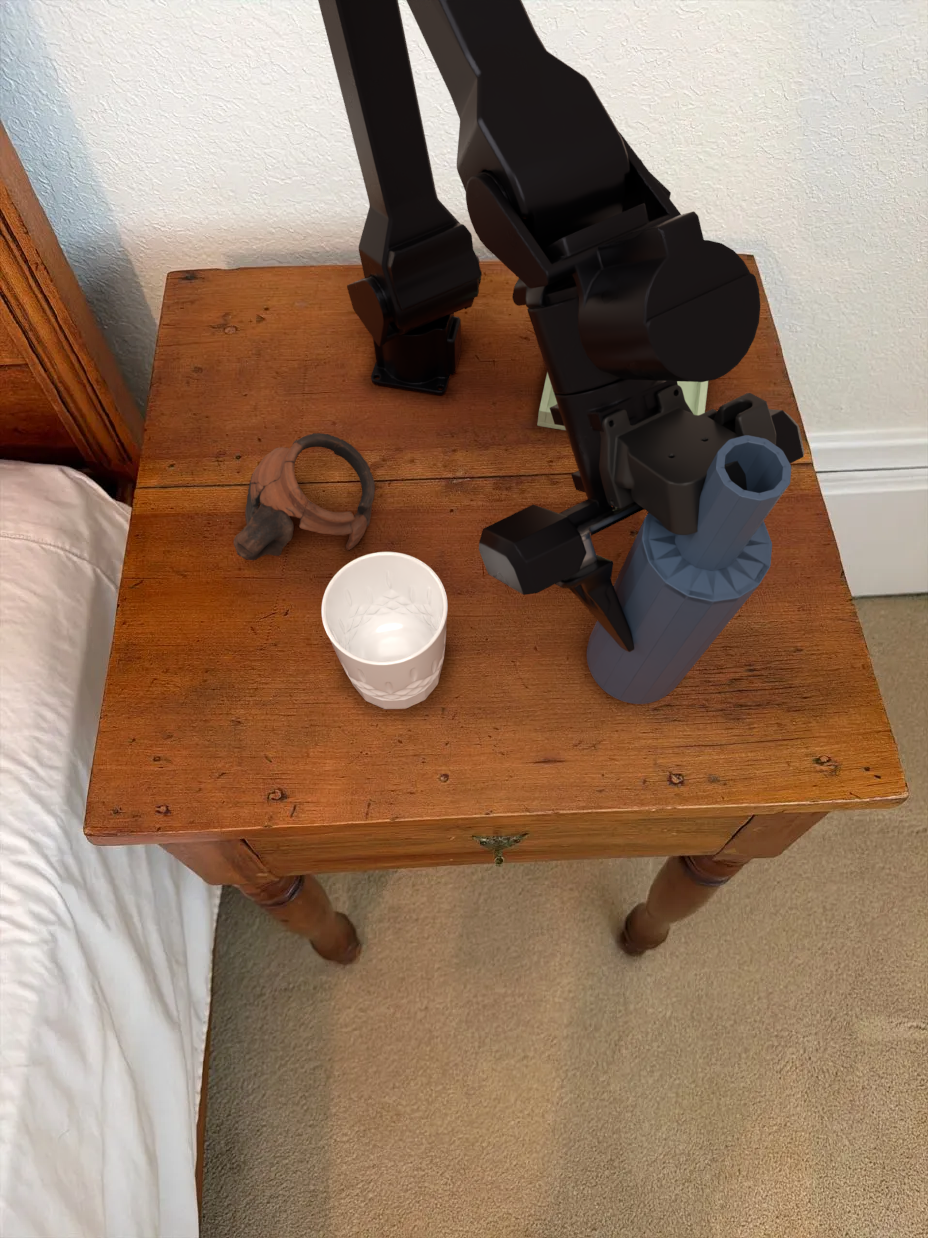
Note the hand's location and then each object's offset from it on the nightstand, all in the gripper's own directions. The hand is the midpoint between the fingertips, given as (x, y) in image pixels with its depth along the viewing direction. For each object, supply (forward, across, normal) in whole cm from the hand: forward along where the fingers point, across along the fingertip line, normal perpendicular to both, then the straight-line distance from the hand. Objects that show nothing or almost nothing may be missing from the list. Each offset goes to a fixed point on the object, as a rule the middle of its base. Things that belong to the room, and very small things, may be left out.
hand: (677, 622), depth 54 cm
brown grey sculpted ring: (-9, -16, +25) cm, 31 cm away
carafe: (+5, 0, +7) cm, 9 cm away
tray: (-9, +14, +24) cm, 29 cm away
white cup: (+1, -15, +15) cm, 21 cm away
